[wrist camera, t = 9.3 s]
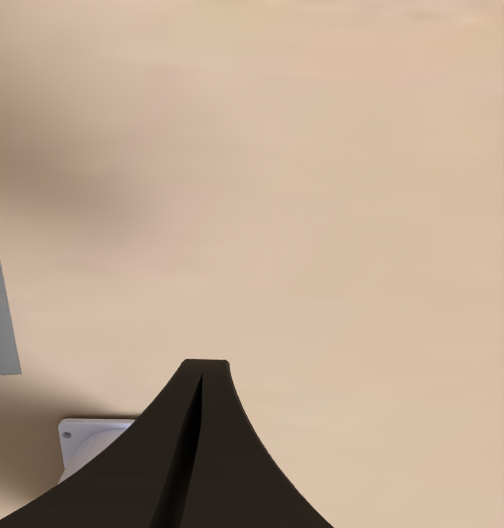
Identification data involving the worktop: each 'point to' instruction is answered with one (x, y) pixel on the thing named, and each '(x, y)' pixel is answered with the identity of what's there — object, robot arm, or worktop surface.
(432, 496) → the worktop surface
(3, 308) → the mat
